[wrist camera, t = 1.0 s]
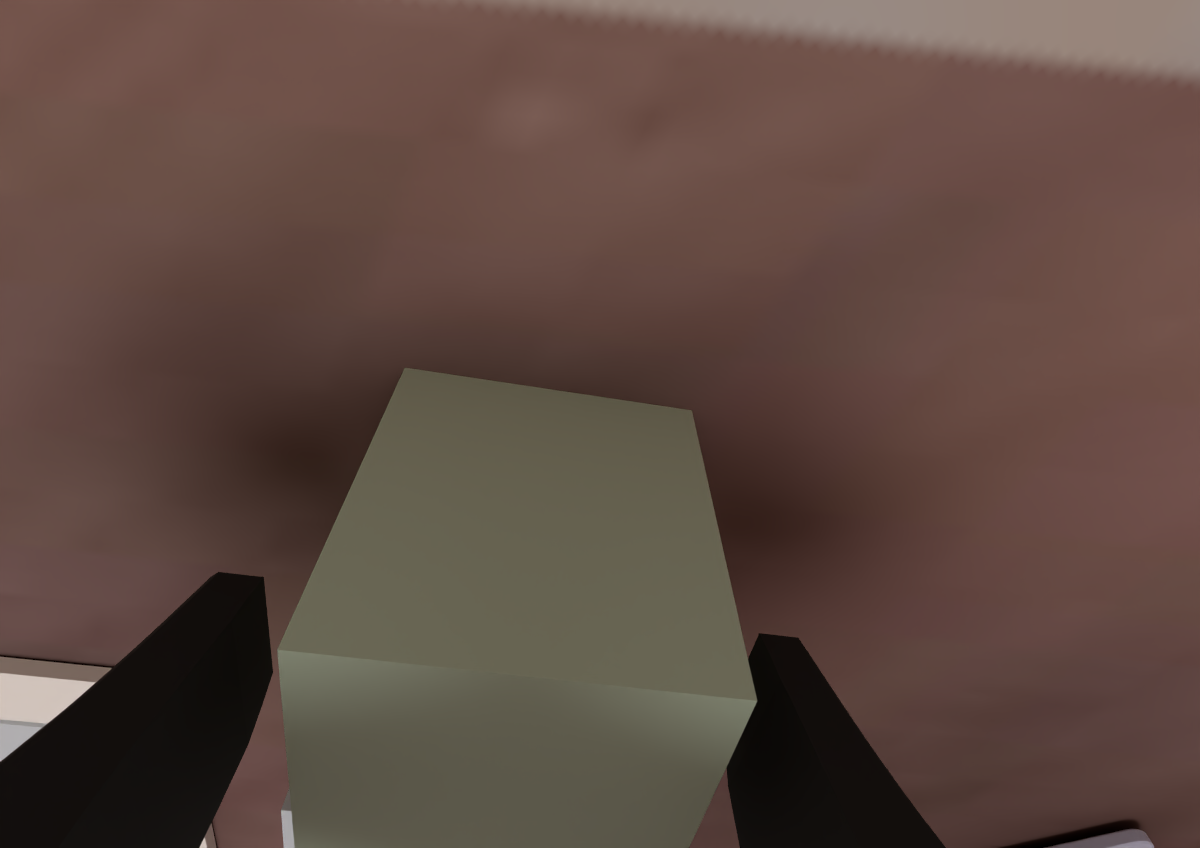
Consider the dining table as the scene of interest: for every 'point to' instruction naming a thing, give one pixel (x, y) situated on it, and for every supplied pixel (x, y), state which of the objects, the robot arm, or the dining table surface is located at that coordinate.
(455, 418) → the sage block
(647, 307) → the dining table surface
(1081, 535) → the dining table surface
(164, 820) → the robot arm
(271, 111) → the dining table surface
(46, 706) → the card
